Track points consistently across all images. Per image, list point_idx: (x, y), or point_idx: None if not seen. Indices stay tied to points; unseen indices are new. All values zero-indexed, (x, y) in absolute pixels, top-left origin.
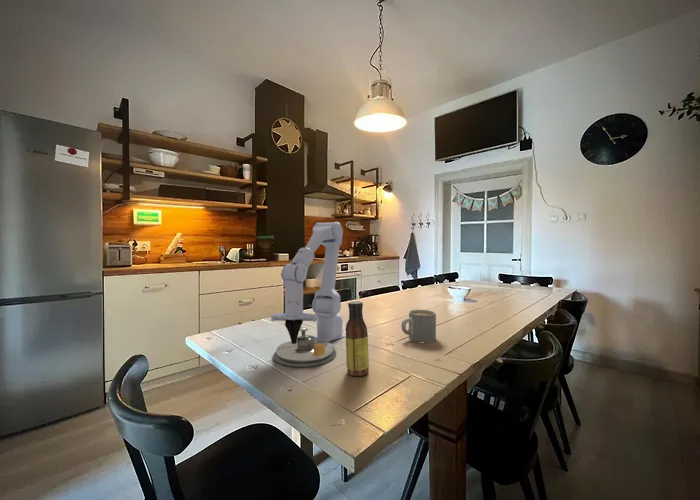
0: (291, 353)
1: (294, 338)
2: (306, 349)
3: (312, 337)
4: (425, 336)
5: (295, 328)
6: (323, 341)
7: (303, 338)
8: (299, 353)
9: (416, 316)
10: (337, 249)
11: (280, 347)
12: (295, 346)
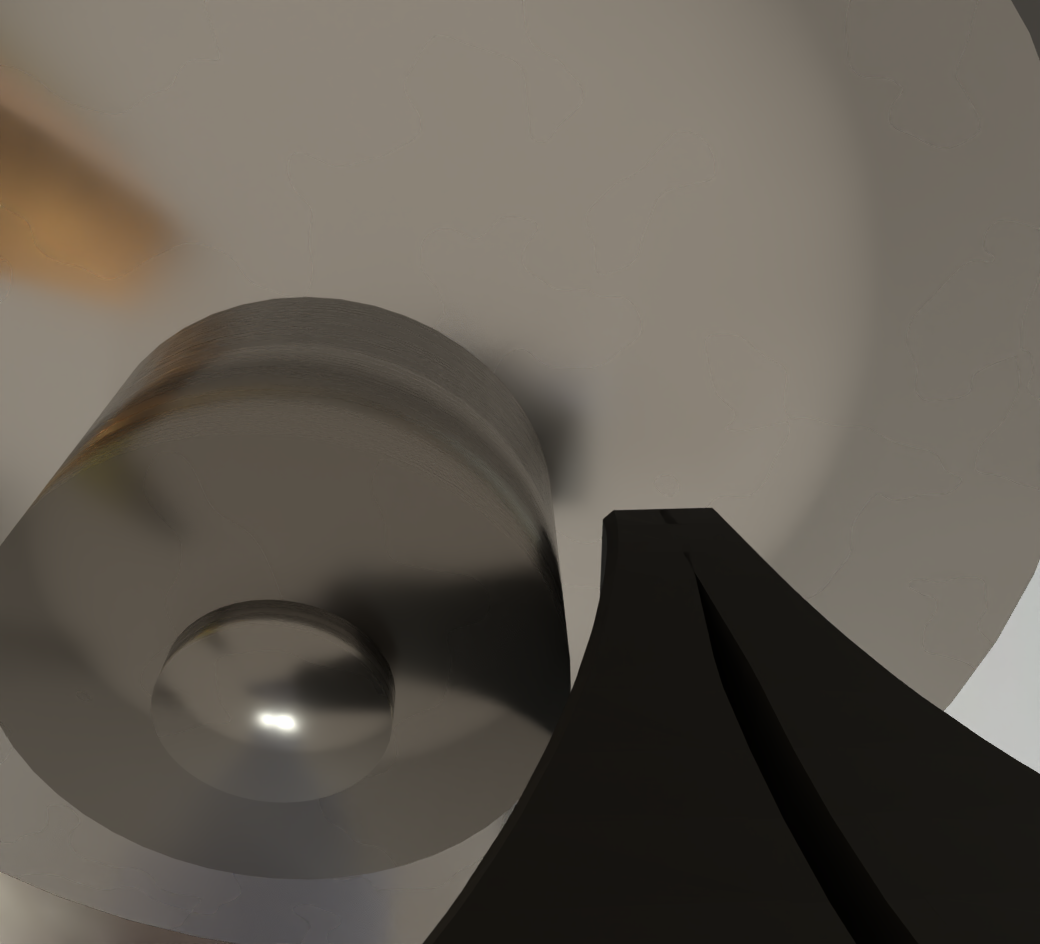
0: (635, 60)
1: (654, 587)
2: (238, 320)
3: (89, 743)
4: None
5: (667, 863)
6: (67, 866)
7: (341, 624)
8: (386, 73)
9: None
10: None
11: (990, 492)
12: None
